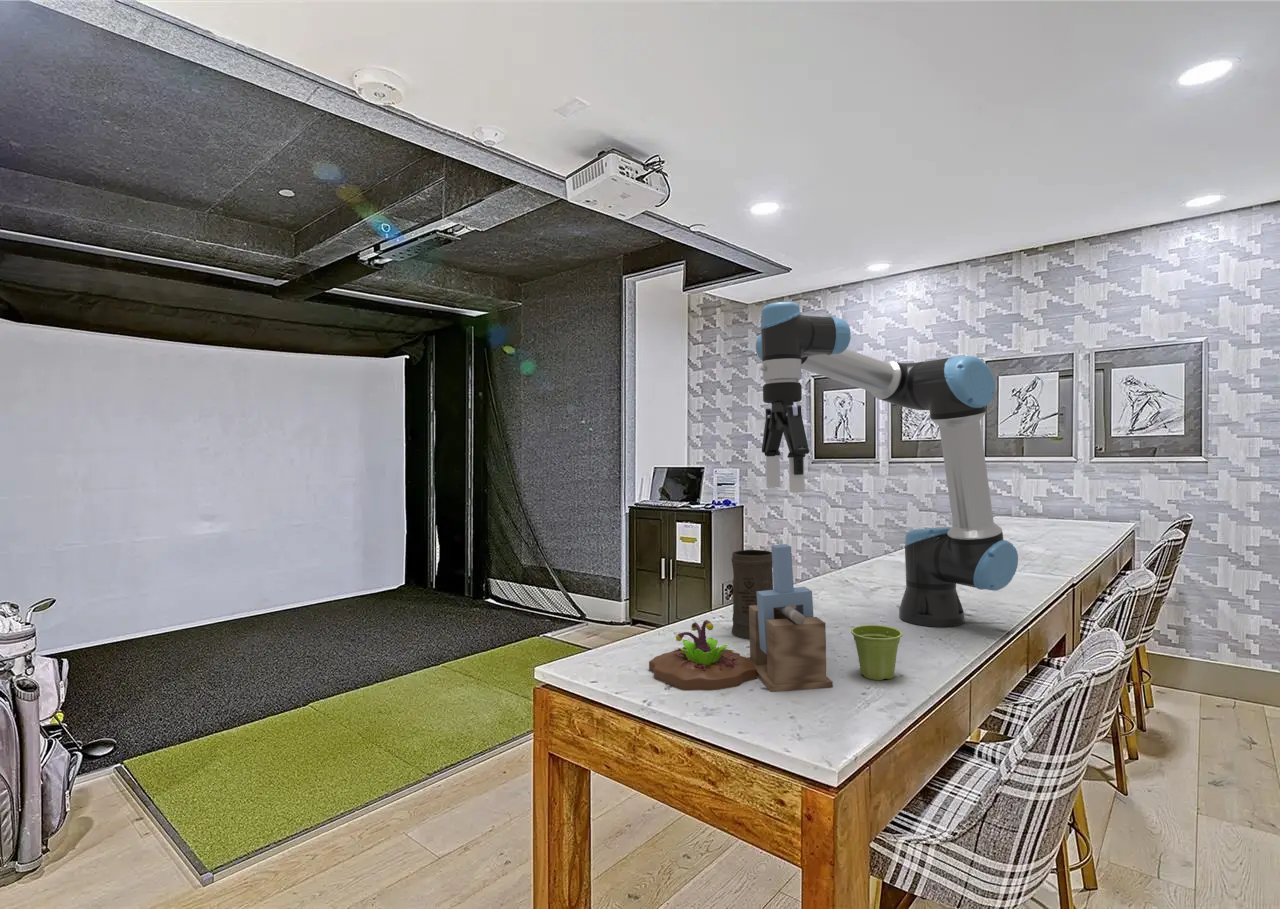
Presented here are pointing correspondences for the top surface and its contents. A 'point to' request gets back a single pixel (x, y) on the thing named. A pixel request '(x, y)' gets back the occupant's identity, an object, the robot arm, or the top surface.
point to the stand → (789, 650)
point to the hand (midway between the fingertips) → (784, 489)
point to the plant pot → (877, 650)
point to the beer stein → (749, 585)
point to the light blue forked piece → (781, 592)
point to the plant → (702, 664)
